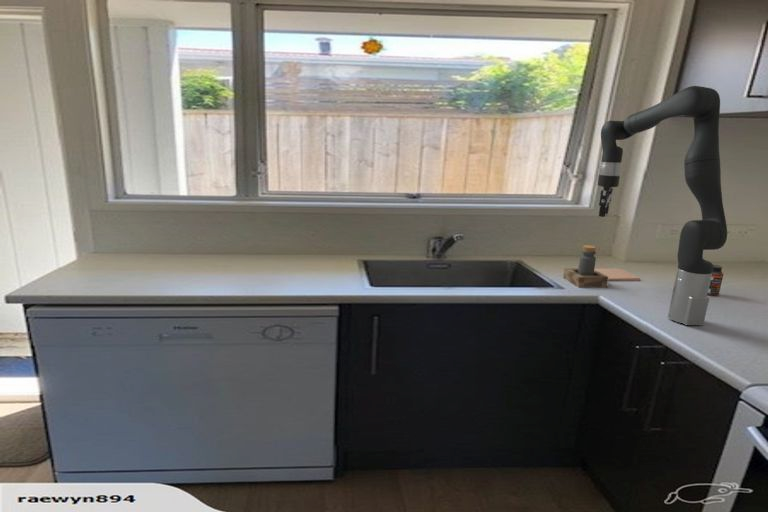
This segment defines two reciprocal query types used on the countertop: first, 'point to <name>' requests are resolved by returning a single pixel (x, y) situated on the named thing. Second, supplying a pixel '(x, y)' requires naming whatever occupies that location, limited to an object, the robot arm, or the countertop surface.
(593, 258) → the bottle
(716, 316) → the countertop surface
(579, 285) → the pocket holder
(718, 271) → the supplement bottle
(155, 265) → the countertop surface
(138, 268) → the countertop surface
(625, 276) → the tile
